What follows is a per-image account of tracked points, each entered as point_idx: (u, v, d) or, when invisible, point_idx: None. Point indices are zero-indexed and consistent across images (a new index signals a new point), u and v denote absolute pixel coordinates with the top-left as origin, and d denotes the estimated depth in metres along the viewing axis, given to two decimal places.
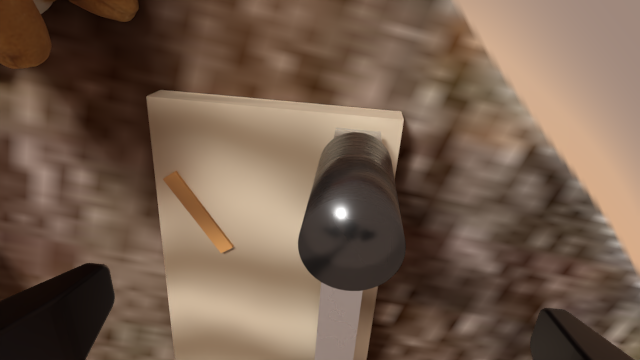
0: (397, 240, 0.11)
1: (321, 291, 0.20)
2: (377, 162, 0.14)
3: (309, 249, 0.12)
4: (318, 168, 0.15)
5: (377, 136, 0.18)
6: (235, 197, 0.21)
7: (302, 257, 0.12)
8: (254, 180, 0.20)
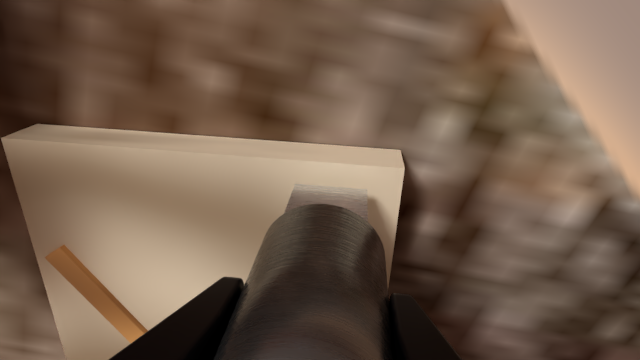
0: None
1: None
2: (351, 289, 0.07)
3: None
4: (244, 286, 0.08)
5: (361, 201, 0.11)
6: (155, 281, 0.14)
7: None
8: (179, 258, 0.13)
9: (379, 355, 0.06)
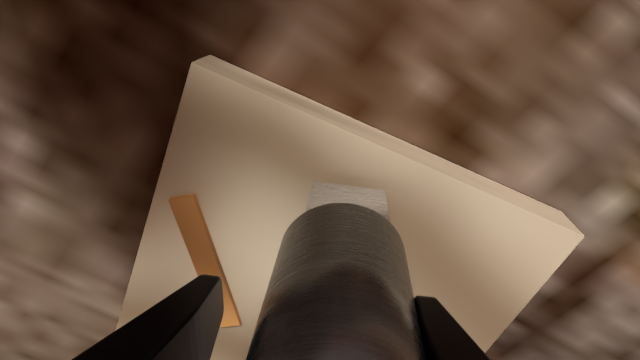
0: None
1: None
2: (387, 292, 0.07)
3: None
4: (271, 283, 0.08)
5: (380, 202, 0.10)
6: (275, 259, 0.13)
7: None
8: None
9: (419, 359, 0.06)
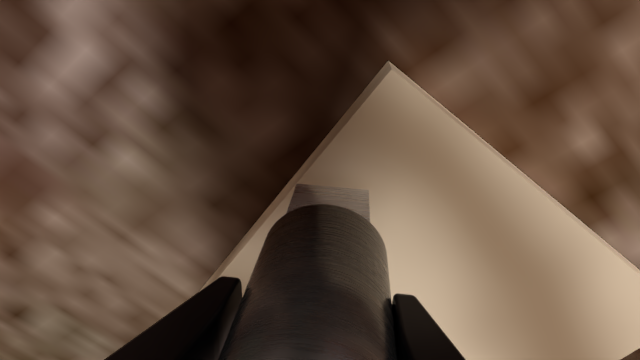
0: None
1: None
2: (355, 290, 0.07)
3: None
4: (247, 286, 0.08)
5: (363, 201, 0.11)
6: (389, 275, 0.13)
7: None
8: (436, 271, 0.13)
9: (385, 357, 0.06)
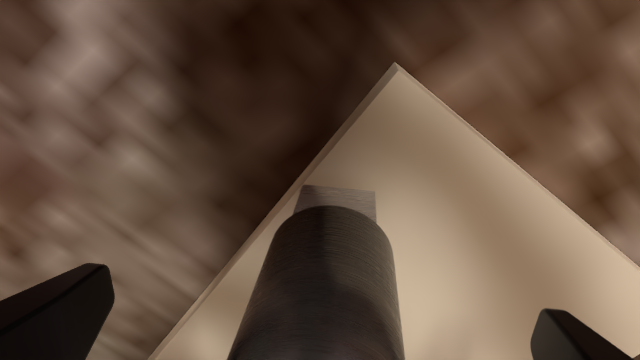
0: None
1: None
2: (364, 292, 0.07)
3: None
4: (255, 287, 0.08)
5: (369, 202, 0.11)
6: None
7: None
8: (441, 272, 0.13)
9: (394, 359, 0.06)
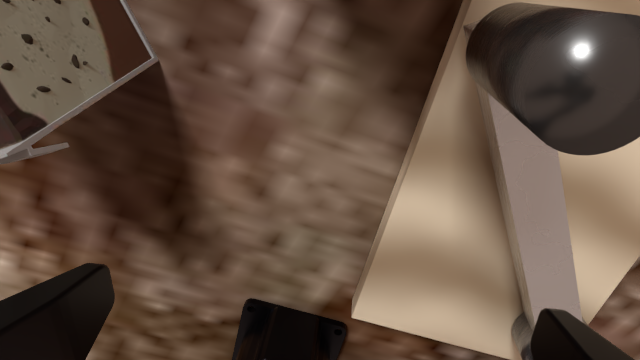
0: None
1: (514, 215, 0.17)
2: None
3: (543, 115, 0.09)
4: (481, 54, 0.12)
5: None
6: None
7: (537, 130, 0.09)
8: None
9: None
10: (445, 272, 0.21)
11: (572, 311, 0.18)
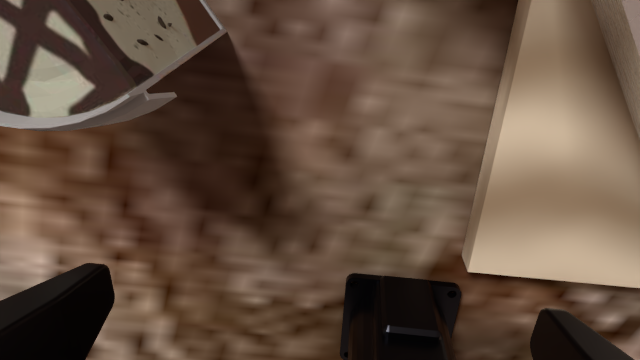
0: None
1: None
2: None
3: None
4: None
5: None
6: None
7: None
8: None
9: None
10: (568, 199, 0.19)
11: None
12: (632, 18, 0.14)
